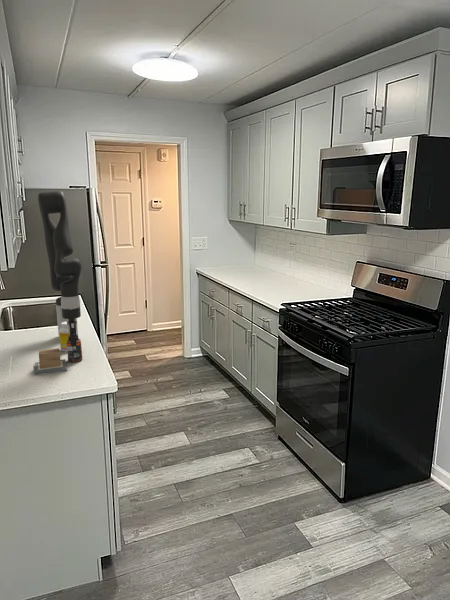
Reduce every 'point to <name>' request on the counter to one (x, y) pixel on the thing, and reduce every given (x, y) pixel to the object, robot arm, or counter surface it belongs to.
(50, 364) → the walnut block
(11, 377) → the counter surface
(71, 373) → the counter surface
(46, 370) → the mat
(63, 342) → the supplement bottle
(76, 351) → the supplement bottle
